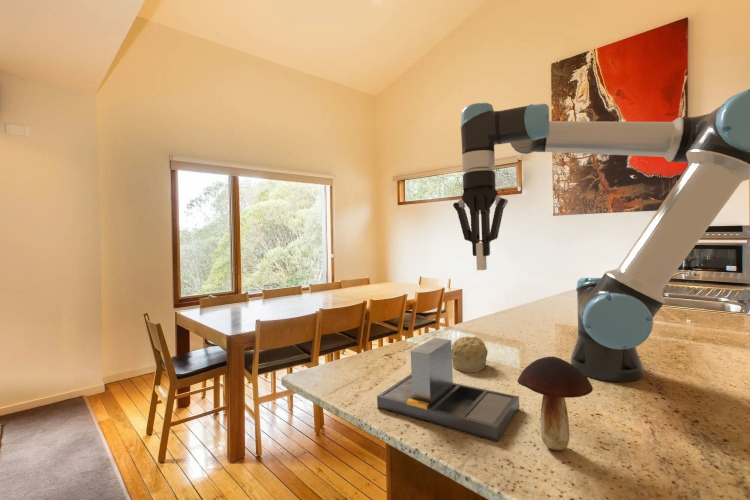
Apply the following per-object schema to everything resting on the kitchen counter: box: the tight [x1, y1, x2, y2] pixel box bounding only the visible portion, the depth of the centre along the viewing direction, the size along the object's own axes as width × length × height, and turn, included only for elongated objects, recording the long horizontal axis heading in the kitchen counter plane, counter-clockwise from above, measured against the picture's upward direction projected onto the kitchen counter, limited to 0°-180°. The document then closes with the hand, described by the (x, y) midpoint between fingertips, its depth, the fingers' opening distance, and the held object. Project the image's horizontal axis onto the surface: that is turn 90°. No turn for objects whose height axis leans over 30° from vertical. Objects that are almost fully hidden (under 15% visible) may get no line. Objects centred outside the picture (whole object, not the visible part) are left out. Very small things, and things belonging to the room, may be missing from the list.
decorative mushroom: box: [517, 356, 594, 451], centre depth 61 cm, size 11×11×15 cm
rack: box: [376, 373, 520, 443], centre depth 76 cm, size 25×14×3 cm, turn 54°
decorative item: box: [451, 336, 489, 373], centre depth 100 cm, size 10×10×10 cm
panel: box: [410, 337, 454, 408], centre depth 78 cm, size 4×10×12 cm, turn 144°
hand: (481, 269), depth 91 cm, fingers closed
